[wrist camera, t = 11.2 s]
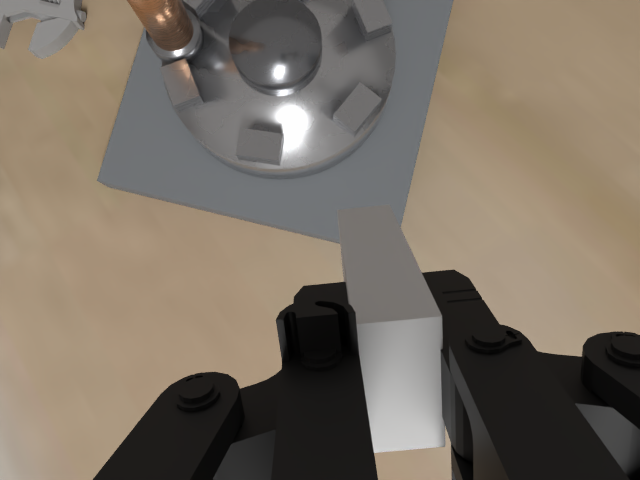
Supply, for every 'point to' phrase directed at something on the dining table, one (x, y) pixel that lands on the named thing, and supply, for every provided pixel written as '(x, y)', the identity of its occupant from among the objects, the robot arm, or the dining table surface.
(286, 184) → the base plate
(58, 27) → the adjustable wrench
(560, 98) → the dining table surface
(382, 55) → the metal rotary base
